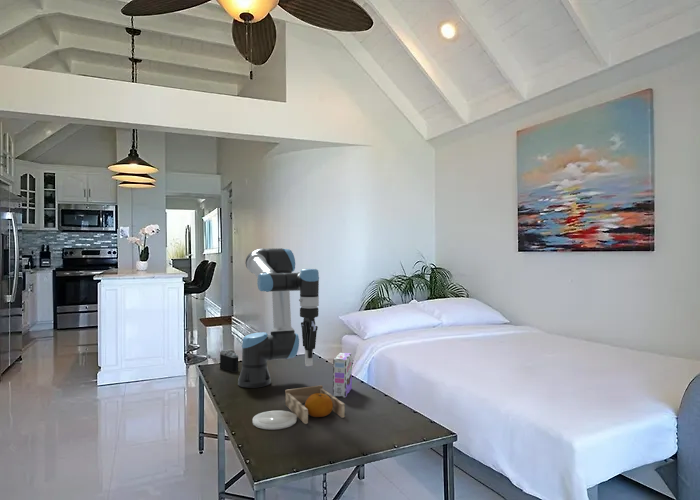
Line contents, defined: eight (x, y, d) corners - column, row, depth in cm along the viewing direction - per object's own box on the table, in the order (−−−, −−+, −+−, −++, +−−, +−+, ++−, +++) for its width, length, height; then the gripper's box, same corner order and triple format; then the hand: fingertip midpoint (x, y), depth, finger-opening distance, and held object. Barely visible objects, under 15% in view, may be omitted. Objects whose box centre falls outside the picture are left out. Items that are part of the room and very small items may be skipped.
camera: (244, 370, 241) (244, 351, 241) (233, 372, 236) (233, 353, 237) (229, 365, 252) (229, 346, 252) (218, 367, 247) (218, 348, 247)
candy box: (345, 398, 196) (346, 359, 196) (332, 397, 197) (332, 358, 197) (352, 388, 209) (352, 352, 209) (339, 387, 210) (339, 352, 210)
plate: (248, 417, 172) (248, 413, 172) (289, 411, 179) (289, 407, 179) (258, 432, 157) (258, 428, 157) (302, 425, 164) (302, 421, 164)
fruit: (329, 421, 168) (329, 399, 169) (301, 419, 170) (302, 397, 170) (335, 411, 179) (335, 391, 179) (309, 409, 181) (309, 389, 181)
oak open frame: (285, 404, 187) (285, 389, 187) (321, 399, 193) (321, 385, 194) (304, 423, 166) (304, 407, 166) (344, 417, 173) (344, 401, 173)
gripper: (295, 305, 190) (294, 362, 189) (306, 309, 178) (305, 370, 177) (312, 304, 193) (311, 361, 193) (324, 308, 181) (323, 368, 181)
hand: (308, 365), depth 185 cm, fingers closed
